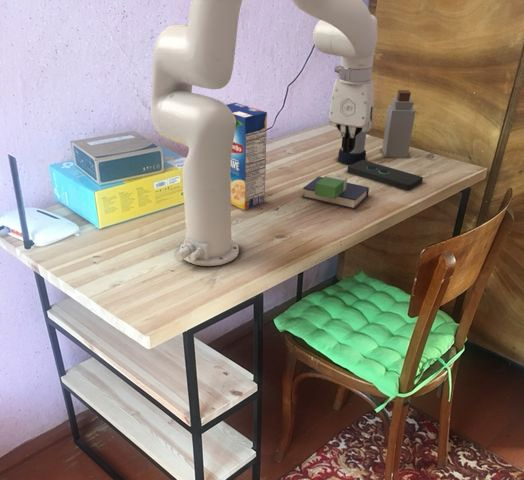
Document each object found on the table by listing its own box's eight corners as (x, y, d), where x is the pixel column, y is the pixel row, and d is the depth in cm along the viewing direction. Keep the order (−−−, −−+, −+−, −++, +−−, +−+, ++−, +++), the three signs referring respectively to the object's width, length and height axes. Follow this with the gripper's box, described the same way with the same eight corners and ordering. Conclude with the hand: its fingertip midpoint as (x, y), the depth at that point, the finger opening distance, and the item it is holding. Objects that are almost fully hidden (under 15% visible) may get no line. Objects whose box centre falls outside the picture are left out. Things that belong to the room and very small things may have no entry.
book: (354, 209, 146) (355, 199, 144) (302, 197, 151) (303, 187, 150) (367, 196, 152) (369, 187, 151) (317, 185, 158) (318, 176, 156)
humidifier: (346, 153, 179) (355, 64, 164) (370, 159, 175) (382, 69, 160) (332, 161, 174) (341, 69, 159) (357, 167, 170) (368, 74, 155)
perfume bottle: (407, 157, 177) (418, 94, 167) (385, 157, 177) (394, 94, 167) (403, 150, 183) (413, 88, 172) (382, 149, 183) (390, 88, 172)
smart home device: (362, 158, 170) (424, 176, 160) (362, 164, 172) (422, 182, 161) (346, 166, 165) (408, 184, 155) (345, 172, 166) (407, 191, 156)
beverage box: (245, 210, 144) (245, 117, 131) (215, 197, 150) (213, 107, 137) (264, 202, 148) (267, 112, 135) (235, 190, 154) (235, 102, 141)
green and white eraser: (334, 199, 144) (335, 187, 142) (314, 194, 146) (315, 183, 144) (345, 189, 149) (347, 178, 147) (326, 185, 151) (327, 174, 149)
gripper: (320, 73, 138) (314, 150, 150) (380, 81, 133) (370, 161, 144) (332, 67, 144) (326, 142, 155) (391, 75, 138) (380, 152, 149)
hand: (347, 151), depth 149 cm, fingers closed
